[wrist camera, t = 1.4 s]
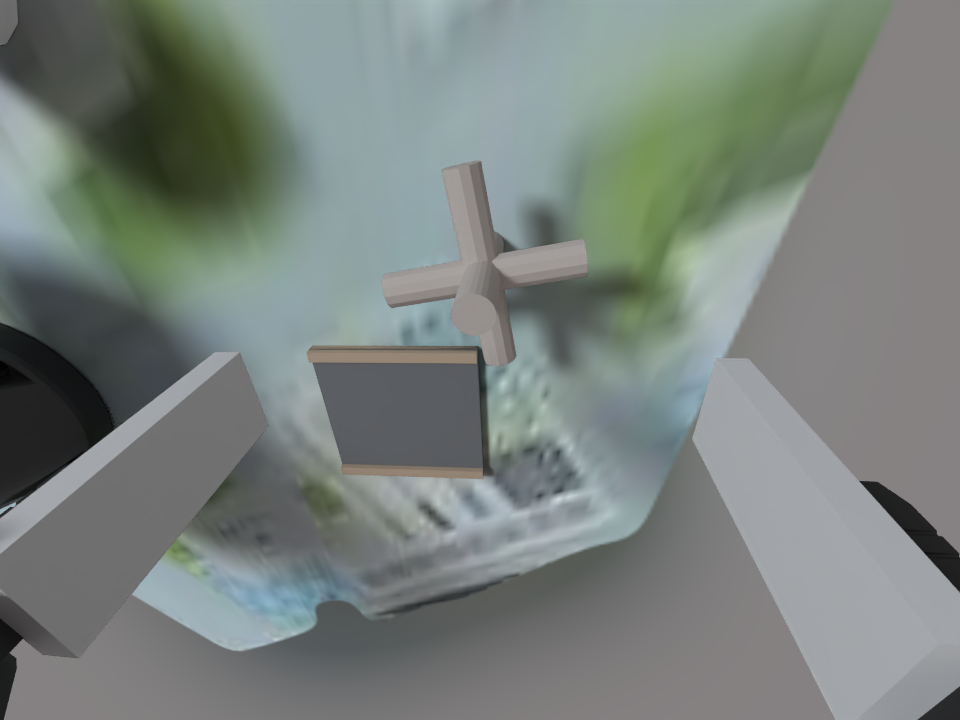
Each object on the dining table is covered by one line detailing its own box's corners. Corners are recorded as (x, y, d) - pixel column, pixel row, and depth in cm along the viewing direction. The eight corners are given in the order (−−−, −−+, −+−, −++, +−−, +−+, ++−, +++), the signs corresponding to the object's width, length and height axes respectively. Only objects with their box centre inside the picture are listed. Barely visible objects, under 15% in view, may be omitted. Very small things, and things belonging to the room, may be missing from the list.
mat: (347, 465, 36) (342, 474, 35) (312, 345, 30) (306, 352, 29) (483, 469, 35) (482, 478, 34) (477, 346, 28) (476, 353, 28)
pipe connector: (579, 308, 26) (608, 401, 18) (431, 330, 28) (393, 424, 20) (564, 134, 21) (594, 149, 13) (386, 174, 23) (309, 210, 15)
